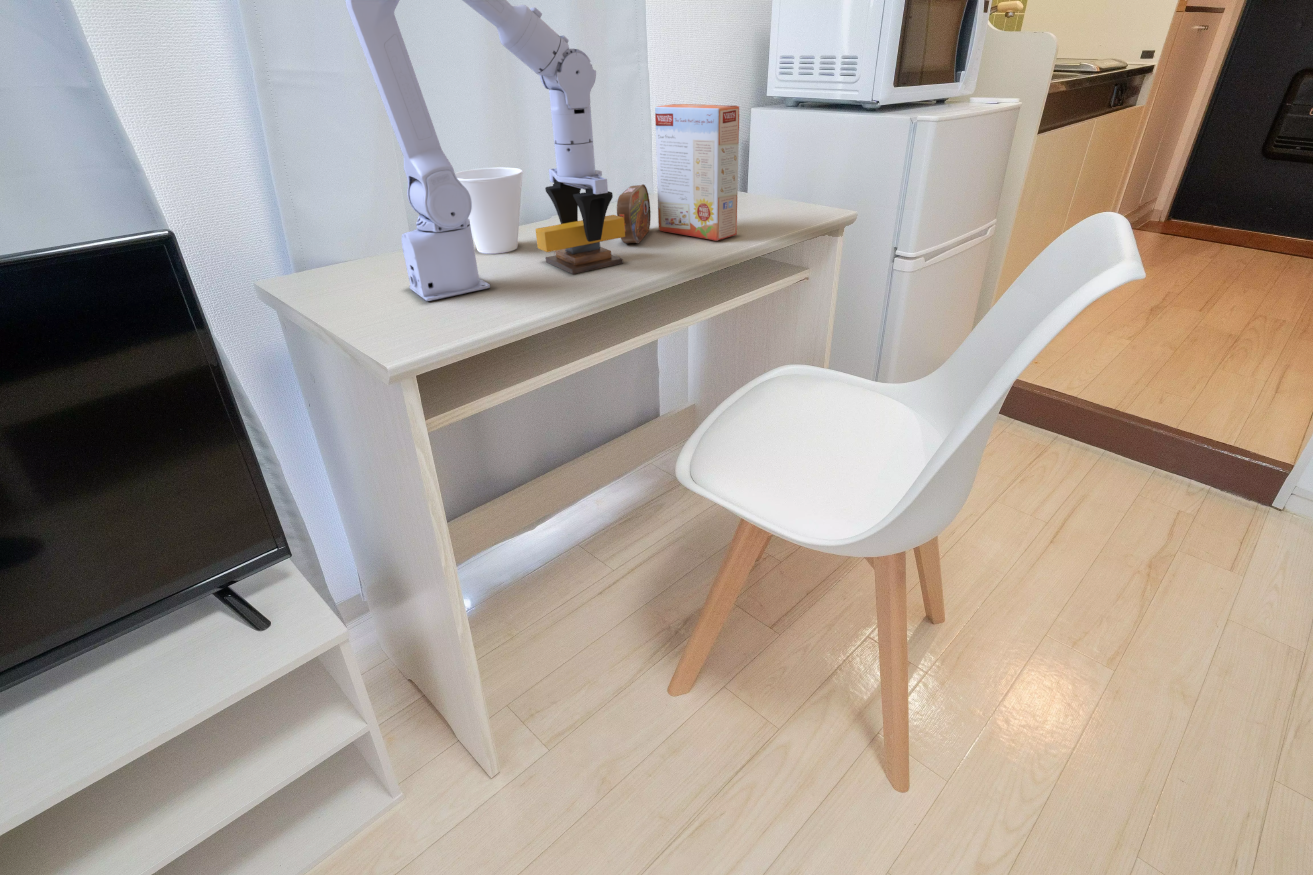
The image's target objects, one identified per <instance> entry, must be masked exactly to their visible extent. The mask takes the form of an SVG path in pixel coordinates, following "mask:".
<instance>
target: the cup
mask: <svg viewBox="0 0 1313 875" xmlns="http://www.w3.org/2000/svg"><path fill="white" fill-rule="evenodd" d="M523 174H524V171H523V169H521V168H516V167H507V166H506V167H505V166H498V167H497V166H495V167H479V168H471V169H465V170H460V171H456V172H455V175H456V177H457V179H458V180H459V181H460V183H461V184H462V185H463V186H464V187H465V188H466V189H467V190H468V192H469V194H470V197H471V201H472V209H471V213H470V215H469V217H468V219H469V220H470V226H471V232H472V238H473V243H474V246H475V248H476V249H477V252H479V253H480V254H487V255H492V254H496V255H497V254H504V253H510V252H513V251H515V250H517V249H518V245H519V243H518V242H519V230H520V228H519V227H520V214H521V201H522V200H521V198H522V184H523Z"/></svg>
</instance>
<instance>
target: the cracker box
mask: <svg viewBox="0 0 1313 875" xmlns="http://www.w3.org/2000/svg"><path fill="white" fill-rule="evenodd" d="M654 108H655V109H654V116H655V117H654V118H655V120H654V122H655V143H656V144H655V147H656V149H655V150H656V151H655V152H656V153H655V154H656V184H657V185H656V188H657V222H658V231H660V232H664V233H671V234H677V235H682V236H689V237H693V238H699V239H704V240H709V241H714V242H717V241H721V240H724V239H728V238H732V237H734V236H737V233H738V232H737V230H738V193H739V191H738V190H739V146H740V105H736V104H735V105H727V104H726V105H725V104H724V105H723V104H722V105H721V104H701V103H698V104H697V103H671V104H664V105H657V106H655V107H654Z"/></svg>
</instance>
